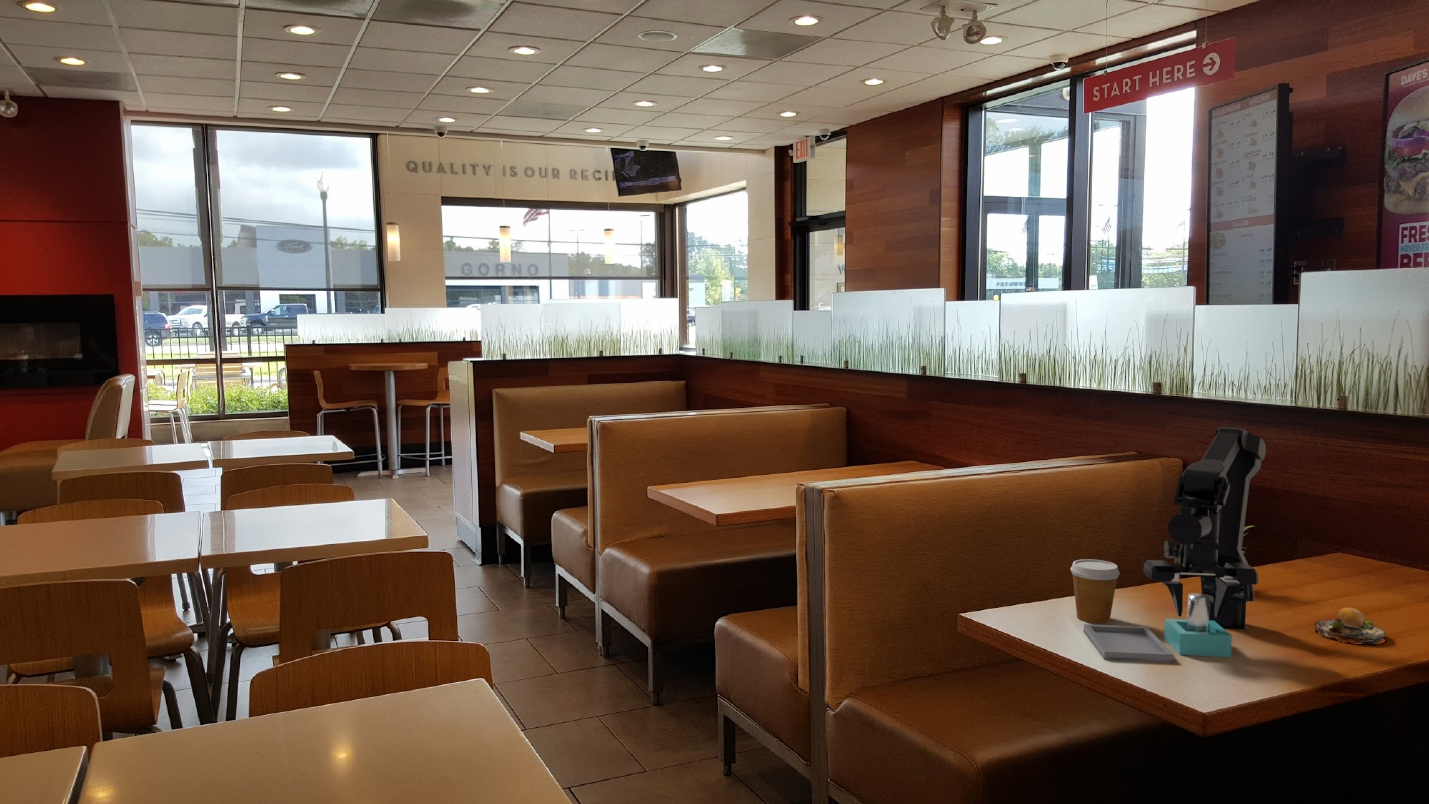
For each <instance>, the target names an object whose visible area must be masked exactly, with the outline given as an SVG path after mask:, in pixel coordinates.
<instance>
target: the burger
mask: <svg viewBox="0 0 1429 804" xmlns="http://www.w3.org/2000/svg"><path fill="white" fill-rule="evenodd" d="M1371 619H1372V618H1371V617H1369V618H1366V620H1365V615H1364V614H1363V613H1362V612H1361V611H1360V610H1358V609H1357V608H1355V606H1352V607H1344V608H1341V609H1340V610H1339V611H1338V618H1335V619H1323V620H1318V621H1315V622H1314V632H1315V631H1318V632H1317V633H1318V635H1319V634H1320V635H1322V636H1321V637H1323V636H1326V637H1325V638H1329V639H1331V638H1332V639H1335V640H1336V641H1337V640H1339V641H1346V643H1351V644H1352V643H1355V644H1354V645H1356V643H1362V644H1378V643H1379V642H1380V641H1382V640H1383V639H1384V638H1383V637H1385V636H1387V632H1386V631H1385V630H1384V629H1382V628H1381V627H1378V626H1376V624H1377V622H1374V621H1371ZM1320 635H1319V636H1320Z"/></svg>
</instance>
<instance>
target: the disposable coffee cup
mask: <svg viewBox="0 0 1429 804" xmlns="http://www.w3.org/2000/svg"><path fill="white" fill-rule="evenodd" d="M1071 565H1072V566H1071V567H1070V571H1071V574H1072V579H1073V582H1072V583H1073V589H1074V591H1073V592H1074V600H1075V601H1074V602H1075V611H1076V618H1077V619H1078V620H1079V621H1081V622H1084V623H1088V624H1095V625H1103V624H1107V623H1109V622H1110V621H1111V617H1112V616H1111V614H1112V609H1113V602H1114V599H1115V598H1114V597H1115V591H1116V588H1117V587H1116V586H1117V582H1118V581H1117V580H1118V578H1119V575H1120V571H1119V568H1118V565H1117V564H1116V563H1113V562H1111V561H1107V560H1101V559H1087V558H1085V559H1077V560H1074V561H1073V562H1072V564H1071Z"/></svg>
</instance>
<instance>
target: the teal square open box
mask: <svg viewBox="0 0 1429 804" xmlns="http://www.w3.org/2000/svg"><path fill="white" fill-rule="evenodd" d="M1163 632H1164V635H1163V639H1164V641H1166V643H1167V644H1168V645H1170V647H1171V648H1172V649H1173V650H1174V652H1176V653H1177V654H1178V655H1179V656H1194V657H1195V656H1198V657H1220V658H1222V657H1223V658H1232V643H1233V635H1232V634H1231V633H1230V632H1228V631H1227V629H1223V628H1222V627H1221V626H1220V625H1219V624H1217V623H1216V622H1215V621H1211V620H1208V632H1188V631H1187V619H1184V618H1183V619H1181V618H1180V619H1179V618H1177V619H1176V618H1164V631H1163Z"/></svg>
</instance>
